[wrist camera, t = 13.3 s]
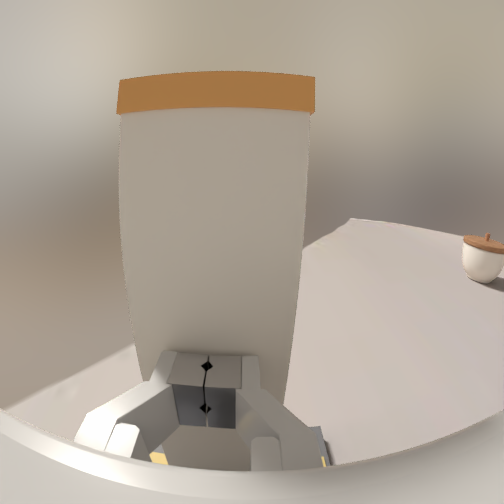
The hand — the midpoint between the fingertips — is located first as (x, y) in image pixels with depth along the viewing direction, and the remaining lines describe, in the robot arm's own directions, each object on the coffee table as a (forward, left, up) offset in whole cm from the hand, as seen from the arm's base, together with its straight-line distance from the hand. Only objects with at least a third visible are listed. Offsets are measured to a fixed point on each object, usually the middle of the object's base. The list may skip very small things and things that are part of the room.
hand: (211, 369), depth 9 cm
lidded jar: (+4, -58, -10) cm, 59 cm away
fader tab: (+1, -1, -8) cm, 8 cm away
